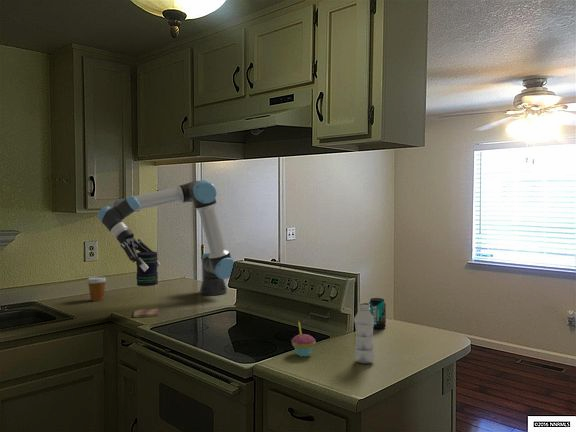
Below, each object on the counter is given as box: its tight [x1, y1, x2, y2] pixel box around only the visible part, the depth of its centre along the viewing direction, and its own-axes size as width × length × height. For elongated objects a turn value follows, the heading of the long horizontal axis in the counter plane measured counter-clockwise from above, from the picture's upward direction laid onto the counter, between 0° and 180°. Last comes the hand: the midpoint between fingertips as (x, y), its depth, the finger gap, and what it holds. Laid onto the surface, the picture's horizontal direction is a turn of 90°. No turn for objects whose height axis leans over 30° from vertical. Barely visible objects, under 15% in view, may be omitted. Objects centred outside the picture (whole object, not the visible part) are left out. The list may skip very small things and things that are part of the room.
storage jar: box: [135, 251, 159, 287], centre depth 235 cm, size 10×10×15 cm
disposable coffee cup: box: [86, 276, 107, 302], centre depth 267 cm, size 10×10×12 cm
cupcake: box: [290, 320, 317, 357], centre depth 177 cm, size 9×8×12 cm
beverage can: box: [368, 297, 387, 330], centre depth 209 cm, size 7×7×12 cm
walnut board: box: [132, 308, 160, 318], centre depth 236 cm, size 11×10×1 cm
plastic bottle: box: [353, 302, 376, 365], centre depth 168 cm, size 6×7×20 cm
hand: (152, 267), depth 234 cm, fingers closed on storage jar, 10 cm apart
